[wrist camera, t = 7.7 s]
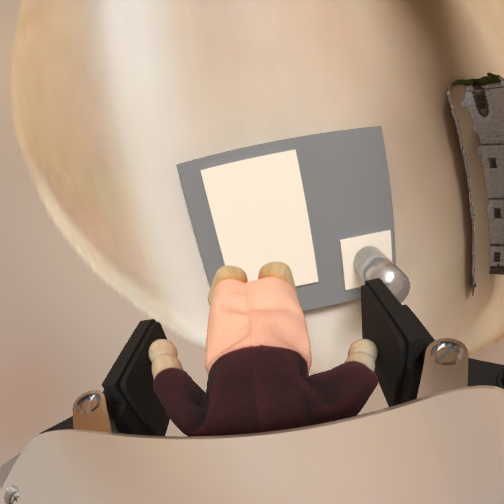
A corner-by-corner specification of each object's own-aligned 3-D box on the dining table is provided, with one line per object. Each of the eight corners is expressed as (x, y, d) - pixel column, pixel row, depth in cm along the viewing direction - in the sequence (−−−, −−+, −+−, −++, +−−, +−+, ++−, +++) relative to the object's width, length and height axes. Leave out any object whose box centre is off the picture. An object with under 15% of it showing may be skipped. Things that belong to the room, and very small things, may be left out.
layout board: (374, 127, 23) (382, 125, 22) (390, 283, 29) (396, 291, 27) (180, 163, 25) (175, 165, 24) (223, 317, 30) (221, 326, 29)
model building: (446, 80, 23) (475, 271, 31) (438, 77, 19) (469, 300, 27) (500, 73, 17) (521, 273, 26) (504, 68, 14) (521, 305, 22)
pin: (381, 242, 25) (410, 268, 20) (383, 272, 26) (409, 302, 21) (352, 249, 26) (374, 276, 20) (354, 278, 27) (375, 311, 21)
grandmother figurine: (202, 332, 16) (141, 565, 4) (179, 270, 14) (46, 518, 2) (342, 304, 15) (433, 542, 3) (333, 236, 14) (495, 497, 2)
